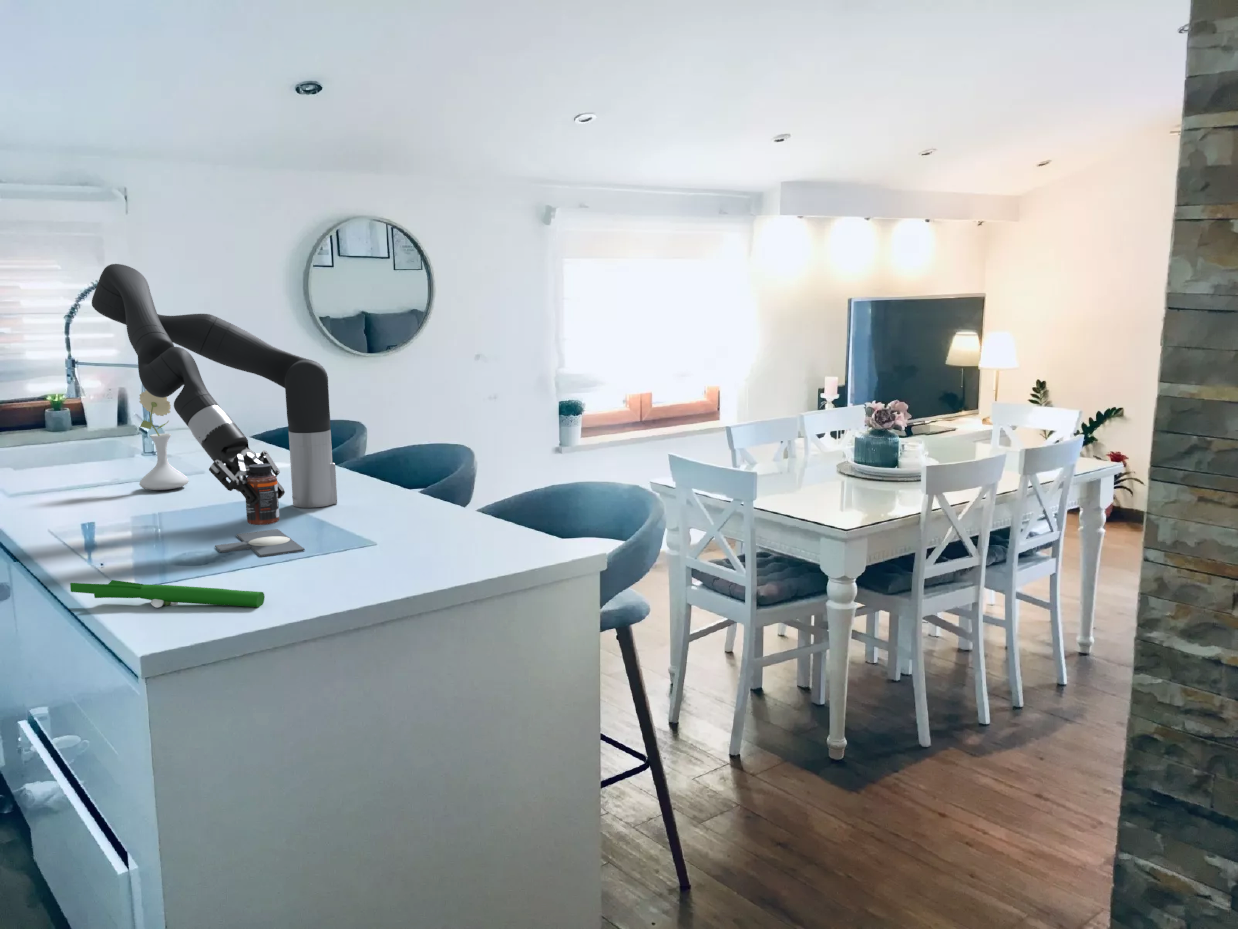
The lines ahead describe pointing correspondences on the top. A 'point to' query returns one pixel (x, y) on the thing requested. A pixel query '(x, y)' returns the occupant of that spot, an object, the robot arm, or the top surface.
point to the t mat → (263, 543)
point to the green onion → (171, 594)
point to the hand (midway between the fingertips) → (269, 498)
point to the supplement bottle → (263, 496)
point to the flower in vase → (160, 449)
